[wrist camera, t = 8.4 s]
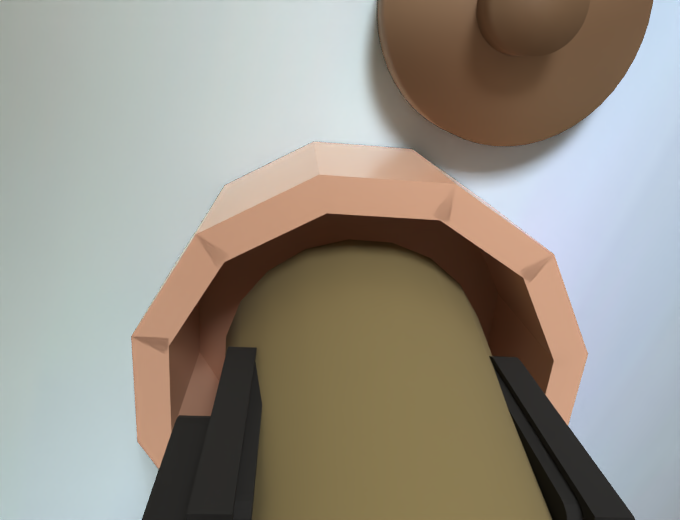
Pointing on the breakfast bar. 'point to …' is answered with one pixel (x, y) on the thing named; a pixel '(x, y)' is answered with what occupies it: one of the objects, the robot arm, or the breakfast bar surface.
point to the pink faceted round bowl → (333, 226)
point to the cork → (378, 393)
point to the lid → (509, 61)
